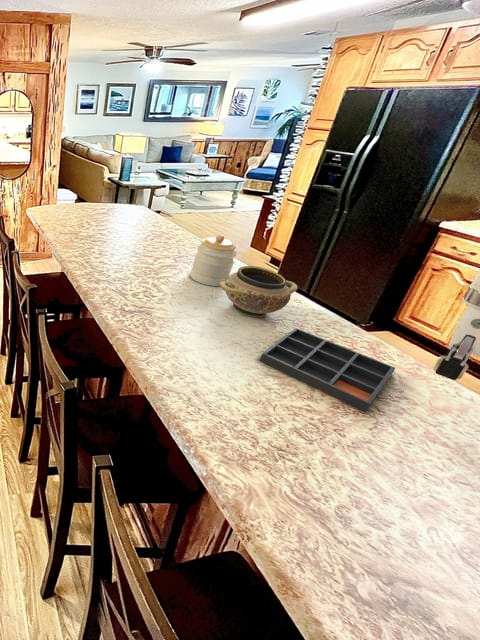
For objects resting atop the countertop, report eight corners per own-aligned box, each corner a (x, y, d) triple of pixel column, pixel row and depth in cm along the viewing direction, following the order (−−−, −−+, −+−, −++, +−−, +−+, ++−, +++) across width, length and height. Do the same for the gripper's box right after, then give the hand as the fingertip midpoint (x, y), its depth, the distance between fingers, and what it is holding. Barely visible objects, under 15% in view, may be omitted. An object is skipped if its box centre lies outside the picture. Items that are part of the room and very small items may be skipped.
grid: (391, 375, 98) (395, 367, 96) (365, 412, 86) (370, 404, 85) (292, 334, 113) (295, 327, 112) (259, 360, 102) (262, 353, 101)
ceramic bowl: (220, 327, 121) (241, 292, 111) (197, 289, 134) (214, 255, 124) (296, 329, 121) (324, 294, 112) (266, 291, 135) (288, 257, 125)
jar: (231, 289, 139) (246, 243, 132) (192, 283, 142) (204, 238, 135) (222, 274, 151) (236, 231, 143) (187, 270, 154) (198, 227, 146)
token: (463, 374, 86) (470, 363, 84) (459, 381, 83) (466, 370, 82) (435, 363, 89) (441, 353, 88) (431, 371, 87) (437, 360, 85)
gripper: (517, 321, 71) (465, 397, 79) (525, 295, 80) (478, 366, 88) (458, 304, 76) (415, 377, 84) (472, 282, 85) (432, 350, 93)
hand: (447, 371), depth 86 cm, fingers closed on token, 4 cm apart
